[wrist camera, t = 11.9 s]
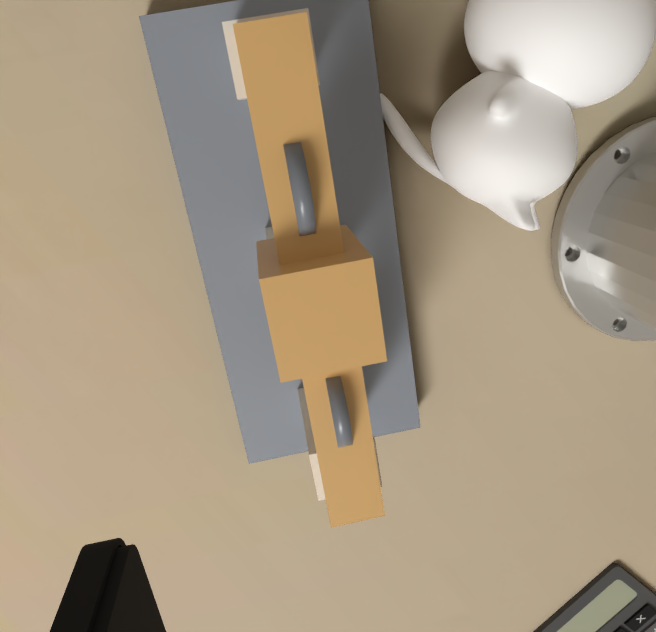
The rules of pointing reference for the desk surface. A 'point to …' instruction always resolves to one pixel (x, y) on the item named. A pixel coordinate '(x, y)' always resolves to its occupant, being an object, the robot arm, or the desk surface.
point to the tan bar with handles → (313, 264)
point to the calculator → (607, 606)
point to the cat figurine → (528, 96)
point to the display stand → (252, 208)
